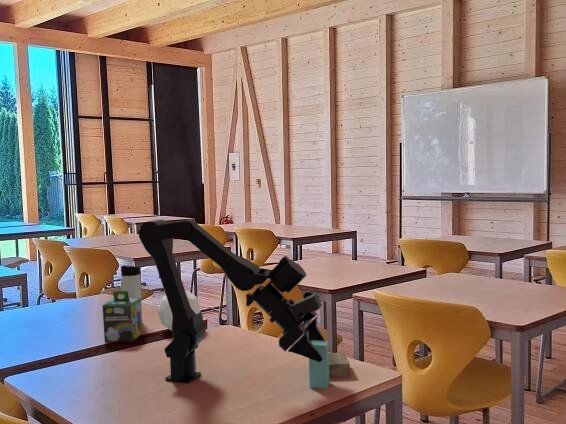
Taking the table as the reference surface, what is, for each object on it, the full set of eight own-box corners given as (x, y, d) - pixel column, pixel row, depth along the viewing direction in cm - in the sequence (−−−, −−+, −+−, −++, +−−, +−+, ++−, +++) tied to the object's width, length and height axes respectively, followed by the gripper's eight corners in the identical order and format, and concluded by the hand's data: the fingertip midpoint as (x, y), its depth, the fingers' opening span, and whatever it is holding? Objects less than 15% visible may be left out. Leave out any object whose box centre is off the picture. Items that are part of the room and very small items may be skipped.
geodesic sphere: (169, 322, 175) (188, 281, 181) (139, 316, 184) (158, 277, 190) (197, 342, 185) (215, 302, 191) (168, 335, 193) (185, 298, 199)
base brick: (312, 379, 141) (312, 365, 141) (309, 367, 150) (308, 353, 150) (349, 378, 142) (349, 363, 142) (344, 365, 151) (343, 352, 151)
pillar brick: (309, 387, 135) (308, 344, 134) (312, 381, 139) (311, 340, 138) (327, 388, 134) (326, 345, 133) (329, 382, 138) (328, 340, 137)
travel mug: (118, 325, 196) (115, 265, 195) (132, 320, 202) (129, 262, 201) (132, 327, 193) (130, 266, 192) (146, 322, 199) (143, 263, 198)
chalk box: (143, 333, 185) (141, 287, 184) (133, 342, 176) (131, 293, 175) (114, 333, 186) (112, 287, 185) (103, 342, 177) (101, 293, 176)
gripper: (291, 290, 127) (344, 342, 125) (307, 275, 145) (352, 320, 143) (257, 325, 129) (308, 377, 127) (276, 306, 147) (321, 351, 145)
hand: (324, 354), depth 136 cm, fingers open, 9 cm apart
